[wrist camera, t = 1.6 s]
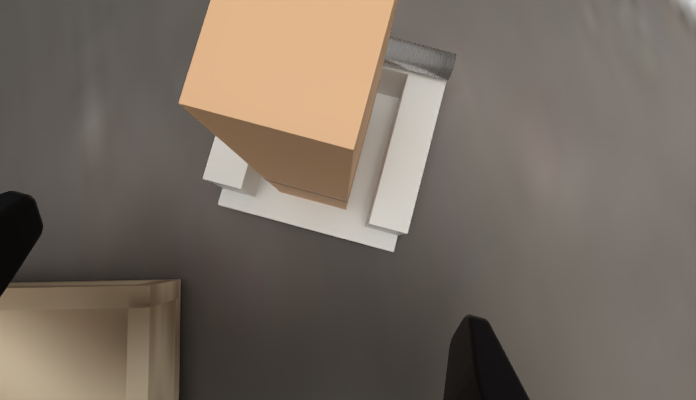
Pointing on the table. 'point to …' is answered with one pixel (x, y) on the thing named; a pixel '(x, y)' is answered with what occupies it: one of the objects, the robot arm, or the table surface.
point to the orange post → (291, 87)
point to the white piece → (374, 164)
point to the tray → (90, 340)
